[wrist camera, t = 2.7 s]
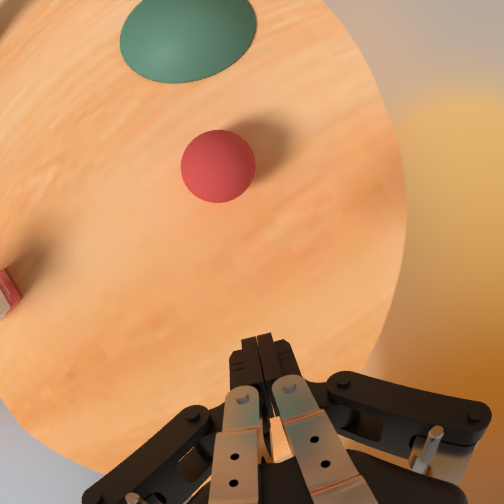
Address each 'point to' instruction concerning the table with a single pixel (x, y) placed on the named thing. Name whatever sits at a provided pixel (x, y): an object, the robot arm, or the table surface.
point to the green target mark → (186, 38)
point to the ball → (218, 166)
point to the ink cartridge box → (7, 294)
